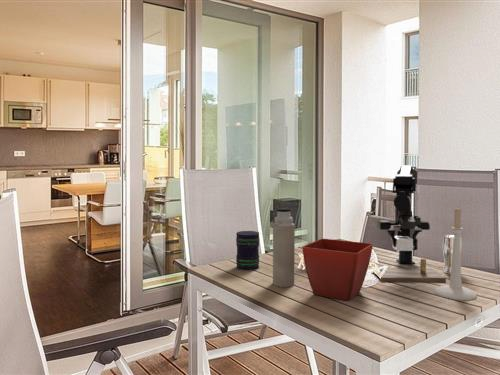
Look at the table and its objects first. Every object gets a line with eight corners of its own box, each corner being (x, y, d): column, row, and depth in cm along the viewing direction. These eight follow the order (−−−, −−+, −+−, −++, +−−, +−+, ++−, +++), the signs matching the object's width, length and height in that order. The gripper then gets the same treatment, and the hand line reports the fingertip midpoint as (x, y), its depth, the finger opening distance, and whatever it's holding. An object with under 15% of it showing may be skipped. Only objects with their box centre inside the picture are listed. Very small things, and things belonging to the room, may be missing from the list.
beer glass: (457, 270, 182) (458, 234, 181) (463, 274, 175) (464, 237, 174) (439, 270, 183) (440, 234, 182) (445, 274, 176) (446, 237, 175)
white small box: (392, 247, 175) (392, 236, 175) (407, 247, 175) (408, 236, 174) (396, 250, 169) (397, 239, 169) (412, 250, 169) (412, 239, 168)
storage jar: (231, 267, 187) (231, 232, 186) (248, 263, 194) (248, 230, 193) (247, 271, 180) (246, 235, 179) (264, 267, 187) (264, 232, 186)
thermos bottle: (281, 279, 168) (282, 206, 166) (298, 283, 163) (299, 208, 161) (268, 283, 162) (268, 208, 161) (285, 288, 157) (285, 210, 155)
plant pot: (372, 290, 155) (373, 243, 153) (356, 306, 138) (357, 253, 137) (321, 282, 164) (322, 238, 163) (300, 296, 148) (301, 246, 147)
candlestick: (478, 292, 152) (481, 206, 150) (473, 302, 141) (476, 209, 139) (439, 286, 159) (441, 204, 157) (431, 295, 148) (433, 207, 146)
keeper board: (372, 271, 180) (372, 255, 179) (431, 272, 179) (431, 255, 178) (381, 281, 166) (381, 263, 165) (445, 281, 165) (446, 263, 165)
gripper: (384, 209, 163) (383, 251, 164) (435, 209, 162) (434, 251, 163) (377, 206, 174) (376, 245, 175) (425, 206, 173) (424, 245, 174)
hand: (402, 246), depth 172 cm, fingers closed on white small box, 6 cm apart
